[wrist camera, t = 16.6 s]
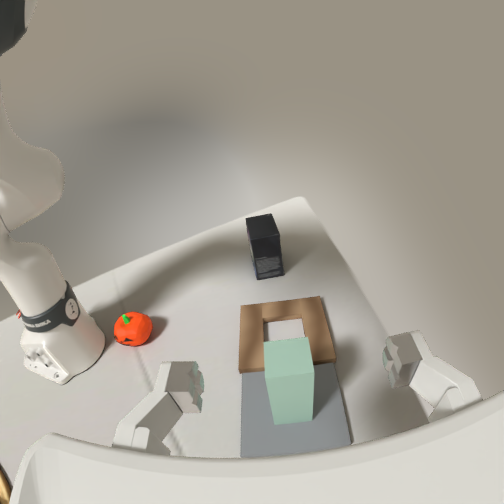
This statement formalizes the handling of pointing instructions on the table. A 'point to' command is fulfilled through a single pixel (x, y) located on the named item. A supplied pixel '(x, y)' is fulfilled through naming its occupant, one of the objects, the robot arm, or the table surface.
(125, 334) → the pumpkin
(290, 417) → the green block
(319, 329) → the pocket board
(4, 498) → the wooden plate with food
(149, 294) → the table surface
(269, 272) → the small box
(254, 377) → the rubber mat
